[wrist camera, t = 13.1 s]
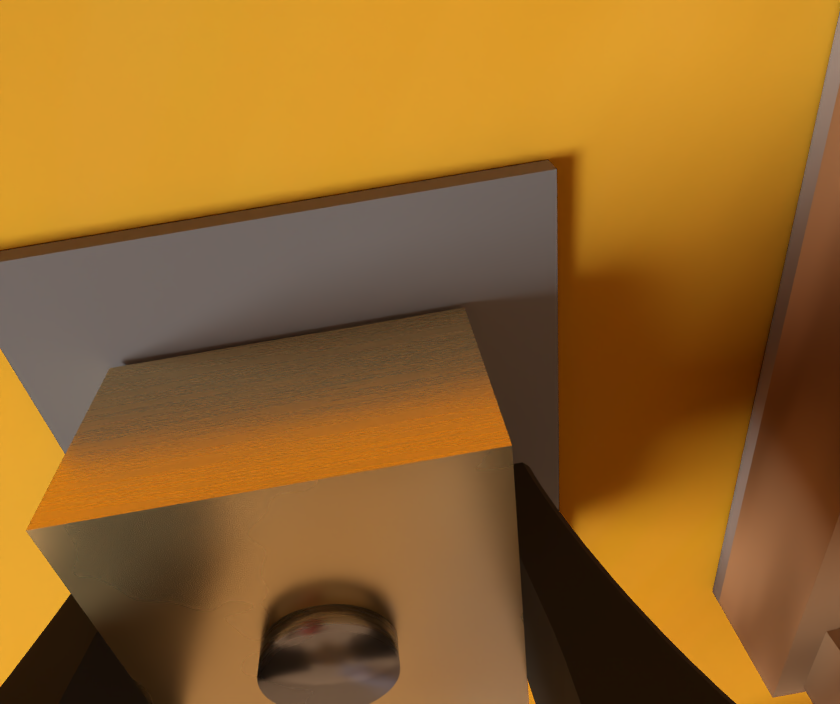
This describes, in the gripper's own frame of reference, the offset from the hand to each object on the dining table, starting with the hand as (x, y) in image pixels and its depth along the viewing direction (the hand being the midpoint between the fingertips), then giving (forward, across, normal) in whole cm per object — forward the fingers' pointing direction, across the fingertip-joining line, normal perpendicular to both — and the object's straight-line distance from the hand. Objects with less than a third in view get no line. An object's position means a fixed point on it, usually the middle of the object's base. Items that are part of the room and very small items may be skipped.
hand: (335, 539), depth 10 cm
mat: (+2, 0, 0) cm, 2 cm away
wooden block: (+1, 0, 0) cm, 1 cm away
